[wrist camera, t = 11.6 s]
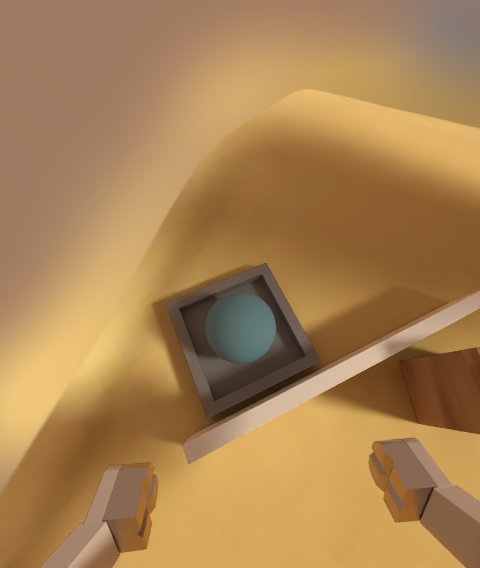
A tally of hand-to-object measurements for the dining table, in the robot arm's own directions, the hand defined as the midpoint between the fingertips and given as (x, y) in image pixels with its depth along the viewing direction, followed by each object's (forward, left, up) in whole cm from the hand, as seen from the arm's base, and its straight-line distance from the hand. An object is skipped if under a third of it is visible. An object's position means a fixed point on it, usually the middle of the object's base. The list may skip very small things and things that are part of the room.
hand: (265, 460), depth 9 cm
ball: (-2, -6, -7) cm, 10 cm away
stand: (-14, +4, -10) cm, 18 cm away
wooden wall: (-8, -1, -10) cm, 13 cm away
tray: (-2, -6, -10) cm, 12 cm away
